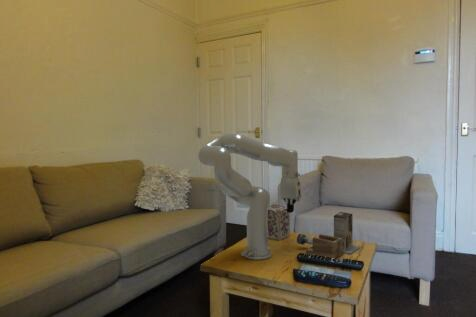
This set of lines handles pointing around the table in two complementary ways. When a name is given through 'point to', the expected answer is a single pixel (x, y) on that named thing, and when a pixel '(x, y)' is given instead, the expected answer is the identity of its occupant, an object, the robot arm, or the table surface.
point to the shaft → (304, 239)
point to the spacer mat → (351, 249)
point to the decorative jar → (278, 222)
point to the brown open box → (326, 246)
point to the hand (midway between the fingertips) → (290, 211)
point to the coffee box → (343, 228)
